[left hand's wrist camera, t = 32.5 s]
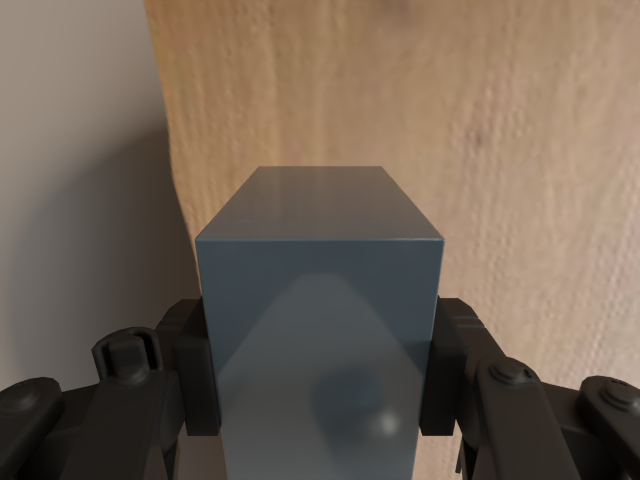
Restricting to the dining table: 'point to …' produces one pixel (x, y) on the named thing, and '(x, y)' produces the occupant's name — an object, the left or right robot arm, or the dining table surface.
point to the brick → (320, 323)
